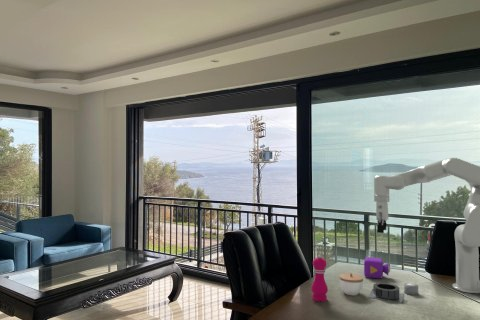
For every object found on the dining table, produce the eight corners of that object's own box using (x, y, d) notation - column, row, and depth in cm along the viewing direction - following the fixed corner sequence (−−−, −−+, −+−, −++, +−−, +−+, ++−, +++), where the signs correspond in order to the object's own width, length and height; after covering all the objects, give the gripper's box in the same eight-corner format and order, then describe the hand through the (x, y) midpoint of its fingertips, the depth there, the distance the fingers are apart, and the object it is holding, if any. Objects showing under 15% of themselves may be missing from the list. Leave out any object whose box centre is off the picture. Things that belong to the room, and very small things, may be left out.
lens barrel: (403, 294, 165) (403, 285, 166) (402, 303, 155) (401, 293, 155) (372, 289, 172) (372, 280, 172) (368, 297, 162) (368, 287, 162)
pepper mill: (328, 297, 161) (328, 253, 162) (327, 302, 155) (326, 256, 155) (312, 295, 164) (312, 252, 164) (310, 300, 157) (310, 255, 157)
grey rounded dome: (418, 292, 169) (418, 283, 169) (418, 296, 163) (418, 287, 164) (404, 290, 172) (404, 281, 172) (403, 294, 166) (403, 285, 166)
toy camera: (392, 280, 187) (392, 261, 187) (365, 278, 190) (364, 260, 190) (387, 274, 198) (387, 256, 198) (362, 273, 200) (362, 255, 201)
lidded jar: (364, 291, 170) (364, 271, 170) (361, 298, 160) (361, 277, 160) (341, 288, 174) (341, 269, 174) (337, 295, 164) (337, 274, 165)
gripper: (387, 200, 178) (387, 234, 178) (391, 198, 193) (391, 229, 193) (371, 199, 182) (371, 233, 181) (376, 197, 197) (377, 228, 196)
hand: (381, 231), depth 187 cm, fingers open, 9 cm apart
